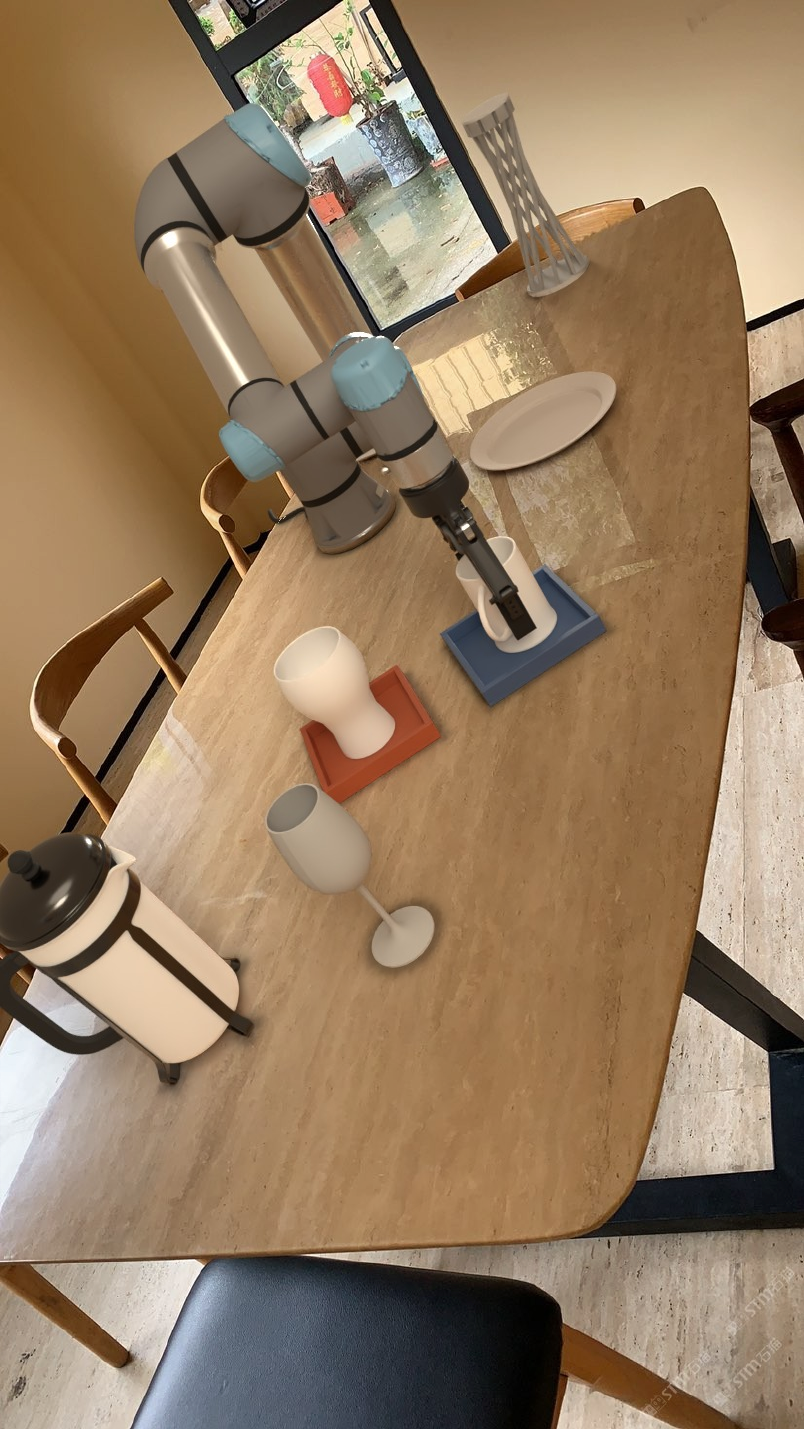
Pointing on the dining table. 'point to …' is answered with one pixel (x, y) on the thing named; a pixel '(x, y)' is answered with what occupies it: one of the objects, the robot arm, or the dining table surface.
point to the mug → (527, 592)
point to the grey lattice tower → (524, 197)
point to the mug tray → (513, 670)
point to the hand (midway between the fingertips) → (505, 609)
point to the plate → (543, 421)
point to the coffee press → (112, 954)
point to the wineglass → (342, 866)
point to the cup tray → (408, 738)
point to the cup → (334, 690)
